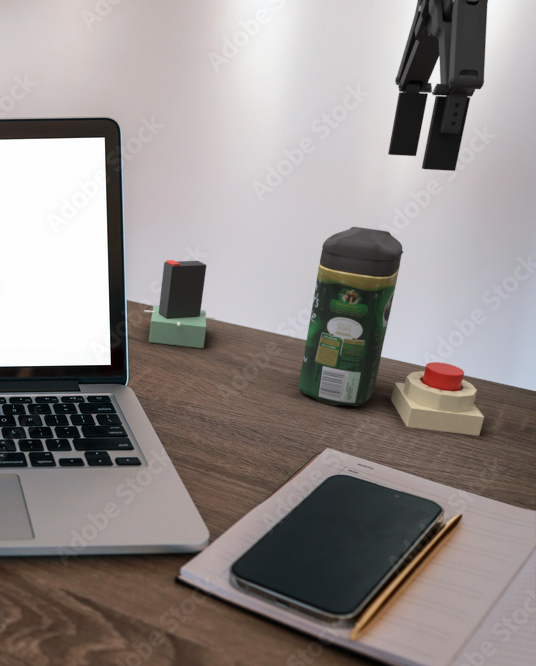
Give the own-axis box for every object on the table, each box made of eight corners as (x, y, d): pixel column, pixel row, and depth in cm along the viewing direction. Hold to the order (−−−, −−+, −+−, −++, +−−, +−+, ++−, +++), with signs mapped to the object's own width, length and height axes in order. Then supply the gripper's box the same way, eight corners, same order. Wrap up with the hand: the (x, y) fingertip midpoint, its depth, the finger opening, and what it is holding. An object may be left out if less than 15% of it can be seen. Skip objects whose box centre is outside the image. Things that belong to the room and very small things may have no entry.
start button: (453, 382, 83) (458, 364, 82) (464, 395, 80) (469, 377, 79) (417, 378, 84) (422, 360, 83) (427, 391, 80) (431, 372, 80)
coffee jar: (308, 370, 94) (336, 218, 88) (377, 386, 90) (412, 229, 84) (288, 397, 86) (317, 232, 80) (363, 415, 82) (400, 244, 76)
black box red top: (191, 311, 104) (198, 258, 101) (200, 316, 102) (207, 263, 99) (158, 313, 102) (164, 260, 100) (166, 318, 100) (172, 264, 98)
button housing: (457, 408, 85) (466, 374, 84) (479, 436, 79) (489, 400, 78) (390, 400, 87) (398, 367, 85) (406, 427, 80) (415, 392, 79)
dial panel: (210, 329, 106) (213, 307, 105) (212, 352, 98) (215, 329, 97) (143, 322, 108) (146, 300, 107) (139, 344, 99) (142, 321, 98)
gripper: (389, -53, 84) (355, 148, 91) (463, -101, 60) (411, 174, 67) (463, -52, 82) (424, 152, 89) (568, -101, 59) (504, 179, 66)
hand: (418, 162), depth 78 cm, fingers open, 13 cm apart
